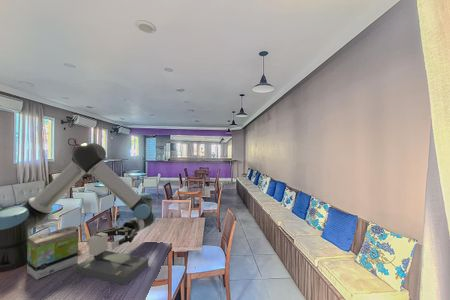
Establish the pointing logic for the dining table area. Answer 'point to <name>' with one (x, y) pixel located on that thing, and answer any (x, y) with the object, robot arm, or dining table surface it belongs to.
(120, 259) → the console
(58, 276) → the dining table surface
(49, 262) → the tea box
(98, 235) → the fader knob
